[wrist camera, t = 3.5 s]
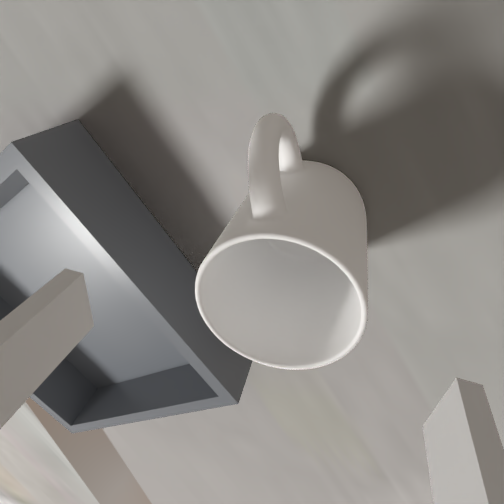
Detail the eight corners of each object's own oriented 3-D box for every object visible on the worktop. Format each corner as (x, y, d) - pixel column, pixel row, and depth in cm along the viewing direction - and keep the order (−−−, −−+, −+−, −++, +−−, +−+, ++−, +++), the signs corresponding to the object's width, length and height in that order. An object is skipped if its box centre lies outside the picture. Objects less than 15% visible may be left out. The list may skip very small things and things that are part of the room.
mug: (225, 107, 22) (143, 157, 14) (360, 82, 20) (359, 126, 11) (260, 264, 28) (217, 365, 20) (368, 261, 26) (371, 376, 17)
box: (77, 119, 26) (11, 142, 21) (256, 348, 34) (238, 403, 29) (-53, 241, 37) (-115, 273, 32) (103, 389, 45) (72, 433, 41)
